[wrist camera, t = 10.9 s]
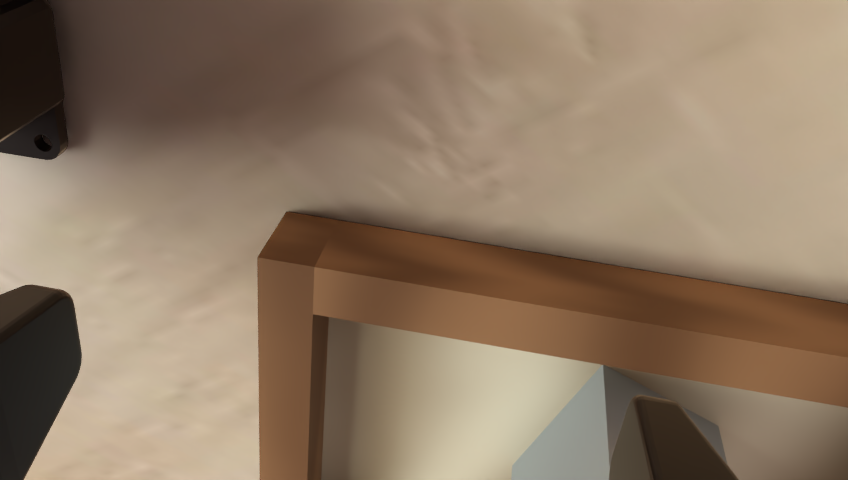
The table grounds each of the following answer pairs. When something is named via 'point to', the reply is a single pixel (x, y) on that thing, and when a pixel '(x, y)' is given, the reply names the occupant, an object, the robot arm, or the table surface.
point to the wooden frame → (520, 356)
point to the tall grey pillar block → (591, 432)
